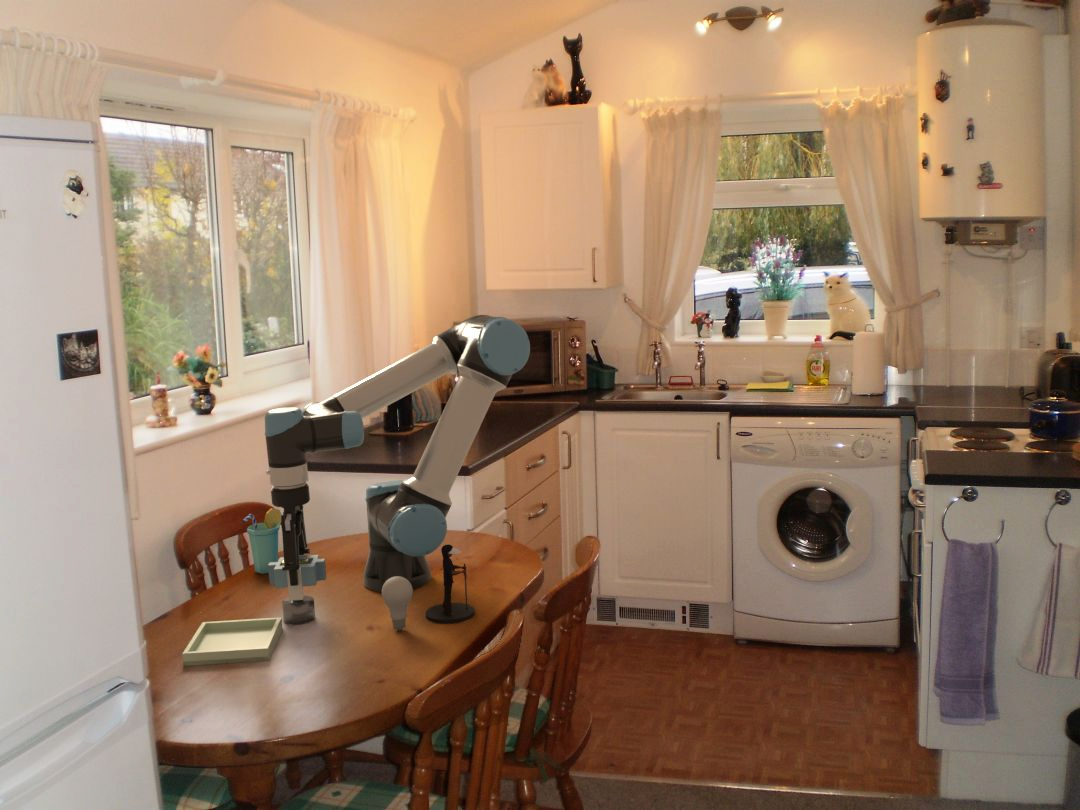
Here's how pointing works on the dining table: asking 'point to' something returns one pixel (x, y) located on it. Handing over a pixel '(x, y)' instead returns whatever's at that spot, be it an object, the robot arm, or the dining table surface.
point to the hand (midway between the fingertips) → (299, 592)
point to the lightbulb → (397, 599)
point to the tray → (233, 641)
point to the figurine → (448, 610)
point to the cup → (264, 539)
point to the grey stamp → (299, 607)
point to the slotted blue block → (308, 572)
